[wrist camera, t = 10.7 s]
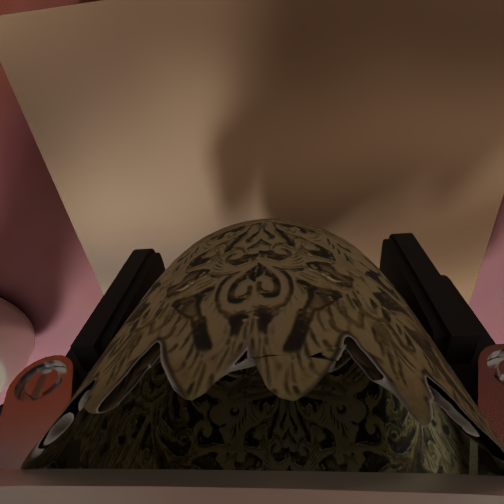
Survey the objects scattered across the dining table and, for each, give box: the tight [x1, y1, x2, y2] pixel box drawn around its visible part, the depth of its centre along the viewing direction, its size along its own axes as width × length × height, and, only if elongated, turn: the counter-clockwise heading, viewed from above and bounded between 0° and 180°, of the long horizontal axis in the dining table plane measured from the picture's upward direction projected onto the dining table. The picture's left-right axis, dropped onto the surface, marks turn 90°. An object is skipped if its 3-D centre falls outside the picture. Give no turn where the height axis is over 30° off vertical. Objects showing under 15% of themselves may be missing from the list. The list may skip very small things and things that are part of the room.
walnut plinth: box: [0, 0, 504, 305], centre depth 15 cm, size 16×16×5 cm
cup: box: [21, 218, 504, 475], centre depth 8 cm, size 8×7×8 cm
